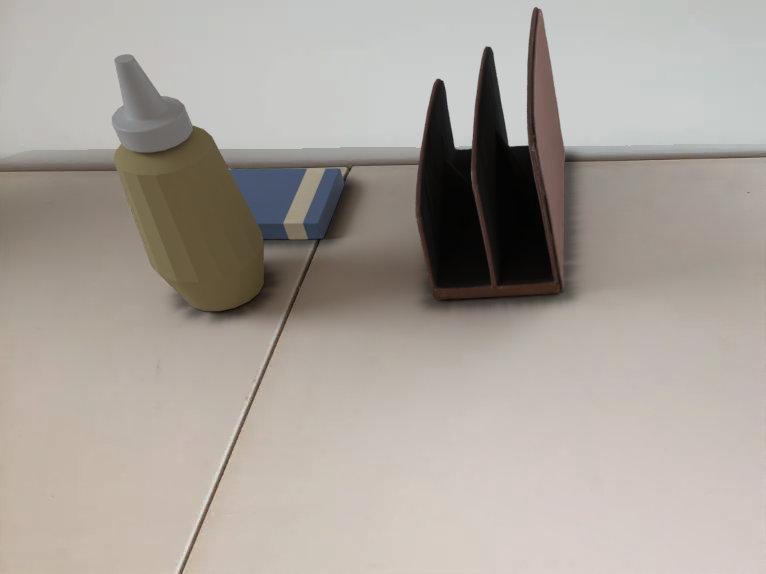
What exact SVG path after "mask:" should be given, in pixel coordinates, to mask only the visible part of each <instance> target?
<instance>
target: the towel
mask: <svg viewBox="0 0 766 574" xmlns="http://www.w3.org/2000/svg"><path fill="white" fill-rule="evenodd" d="M229 170H230V172H231V174H232V176H233V178H234V180H235V182H236V184H237V185H238V187H239V189H240V191H241V193H242V195H243V197H244V199H245V201H246V203H247V205H248V207H249V208H250V210H251V212H252V214H253V216H254V218H255V220H256V222H257V224H258V226H259V228H260V230H261V232H262V236H263V240H323V239H324V238H325V236H326V234H327V231H328V227H329V225H330V222H331V219H332V218H333V215H334V212H335V210H336V208H337V205H338V203H339V200H340V197H341V194H342V192H343V190H344V187H345V184H346V183H345V179H344V176H343V173H342V170H341V168H340V167H339V168H335V167H334V168H326V167H308V168H229Z"/></svg>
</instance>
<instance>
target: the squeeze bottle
mask: <svg viewBox="0 0 766 574" xmlns="http://www.w3.org/2000/svg"><path fill="white" fill-rule="evenodd" d="M113 62H114V66H115V71H116V75H117V80H118V84H119V90H120V94H121V98H122V99H121V100H122V103H123V104H122V106H120V107H118V108H117V109H116V111H115V112H114V113H113V114H112V116H111V125H112V128H113V129H114V131H115V134H116V136H117V138H118V140H119V142H120V144H119V146H118V148H117V149H116V150H115V152H114V154H113V159H114V161H113V163H114V166H115V169H116V172H117V175H118V177H119V180H120V182H121V185H122V188H123V191H124V194H125V197H126V200H127V202H128V205H129V207H130V211H131V213H132V216H133V219H134V221H135V222H134V223H135V224H136V227H137V230H138V234H139V236H140V238H141V241H142V245H143V247H144V250H145V252H146V255H147V258H148V261H149V264H150V266H151V268H152V269H153V270H154V271H155V272H156V273H157V274H158V275H159V276H160V277H161V278H162V279H163V280H164V281H165V282H166V283H167V284H168V285H169V286H170V287H171V288H172V289H173V290H174V291H175V292H176V293H177V294H178V295H179V296H180V297H181V298H182V299H183V300H184V301H186V303H187V304H188V305H189V306H191V307H192V308H194V309H198V310H200V311H203V312H222V311H227V310H230V309H235V308H237V307H240V306H243V305H245V304H247V303H248V302H250V301H251V300H253V299H254V298H255V297H256V296H257V295H258V294H259V293H260V292H261V290H262V288H263V286H264V284H265V248H264V247H265V242H264V239H263V236H262V232H261V230H260V228H259V226H258V224H257V222H256V220H255V218H254V216H253V214H252V212H251V210H250V208H249V207H248V205H247V203H246V201H245V199H244V197H243V195H242V193H241V191H240V189H239V187H238V185H237V184H236V182H235V180H234V178H233V176H232V174H231V172H230V170H229V169H230V168H229V166H228V165H227V163H226V161H225V159H224V156H223V154H222V153H221V151H220V149H219V147H218V145H217V143H216V141H215V139H214V137H213V136H212V135H211V134H210V133H209V132H208V131H207V130H205V129H204V128H201V127H199V126H196V125H193V123H192V121H191V118H190V116H189V114H188V113H189V112H188V110H187V109H186V107H185V104H184V103H183V102H182V101H180V100H179V99H178V98H174V97H171V96H168V95H161V94H160V92H159V91H158V90H157V88H156V86H155V85H154V83H152V81H151V79H150V78H149V77H148V75H147V73H146V72H145V71H144V69H143V67H142V66H141V65H140V63H139V62H138V61H137V59H136V58H135V56H134V55H133V54H129V53H128V54H127V53H126V54H121V55H117V56H116V57H114V61H113Z"/></svg>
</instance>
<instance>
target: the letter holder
mask: <svg viewBox="0 0 766 574" xmlns="http://www.w3.org/2000/svg"><path fill="white" fill-rule="evenodd" d="M545 25H546V24H545V19H544V14H543V11H542V9H541V8H539V7H538V6H535V7H534V8H533V10H532V12H531V18H530V26H529V35H528V46H527V63H526V65H527V67H526V68H527V69H526V130H527V131H526V132H527V145H513V146H510V144H509V138H508V131H507V126H506V125H507V124H506V120H505V119H506V118H505V114H504V109H503V104H502V98H501V92H500V84H499V78H498V73H497V67H496V62H495V61H496V60H495V53H494V51H493V48H492V46H487V45H486V46H485V47H484V49H483V51H482V55H481V59H480V65H479V72H478V78H477V84H476V85H477V86H476V93H475V99H474V100H475V101H474V114H473V125H472V139H471V140H472V141H471V148H459V149H458V148H456V146H455V139H454V134H453V127H452V123H451V117H450V116H451V115H450V111H449V110H450V109H449V105H448V96H447V89H446V86H445V82H444V81H445V80H442V79H441V78H436V79H435V80H434V82H433V85H432V87H431V92H430V96H429V101H428V105H427V110H426V115H425V122H424V127H423V133H422V139H421V146H420V151H419V158H418V159H419V160H418V167H417V174H416V184H415V206H414V207H415V208H414V209H415V210H414V213H415V214H414V215H415V220H416V226H417V230H418V234H419V239H420V245H421V250H422V253H423V259H424V263H425V268H426V272H427V277H428V278H427V279H428V283H429V286H430V290H431V296H432V298H433V300H435V301H441V300H457V299H478V298H479V299H481V298H493V297H494V298H495V297H496V298H497V297H514V296H530V295H546V294H549V295H550V294H561V293H563V291H564V289H565V288H564V287H565V282H564V281H565V280H564V279H565V278H564V244H565V243H564V242H565V241H564V239H565V232H564V231H565V161H566V150H565V144H564V139H563V133H562V126H561V119H560V112H559V105H558V98H557V93H556V87H555V81H554V74H553V67H552V60H551V55H550V49H549V43H548V37H547V31H546V26H545Z"/></svg>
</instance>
